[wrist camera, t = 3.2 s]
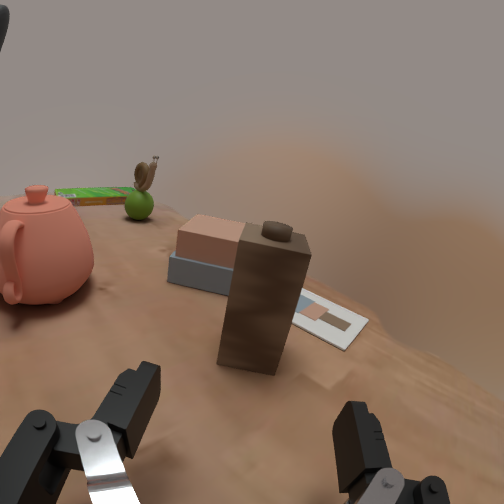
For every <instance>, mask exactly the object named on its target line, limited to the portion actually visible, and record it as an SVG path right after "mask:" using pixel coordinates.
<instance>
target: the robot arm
mask: <svg viewBox="0 0 504 504" xmlns="http://www.w3.org/2000/svg"><path fill="white" fill-rule="evenodd" d="M8 24H9V10H8V8H7V7H6V6H5V5H0V51H1V48H2V45H3V42H4V39H5V36H6V32H7V29H8ZM160 390H161V368H160V366H159V365H156V364H152V363H149V362H146V361H142V362H141V364H140V365H139V367H138V369H137V371H135V370H132V369H127V370H126V371H124V372H123V373H121V374H120V375H119V376H118V378H117V379H116V381H115V383H114V385H113V386H112V387H111V389H110V392H108V394H107V395H106V397H105V398H104V400H103V402H102V403H101V405H100V407H99V408H98V410H97V411H96V413H95V415H94V416H93V418H91V419H90V420H86V421H84V422H82V423H80V424H70V423H65V422H59V421H56V420H55V418H54V417H53V416H52V414H50V413H49V412H47V411H45V410H34V411H31V412H30V413H29V414H27V416H26V417H25V419H24V420H23V422H22V423H21V425H20V426H19V428H18V429H17V431H16V432H15V434H14V436H13V437H12V439H11V440H10V442H9V444H8V445H7V447H6V449H5V450H4V452H3V454H2V455H1V457H0V504H56V502H57V500H58V497H59V495H60V493H61V490H62V488H63V486H64V483H65V481H66V479H67V477H68V474H69V472H70V470H71V469H74V470H80V471H85V474H86V477H87V481H88V483H87V487H88V491H89V494H90V497H91V500H92V502H93V504H140V503H139V501H138V499H137V497H136V494H135V492H134V490H133V488H132V485H131V483H130V481H129V478H128V476H127V474H126V472H125V469H124V467H123V464H122V463H123V461H124V459H125V456H126V457H128V458H131V459H133V458H134V455H135V453H136V451H137V448H138V446H139V444H140V441H141V439H142V437H143V434H144V432H145V430H146V427H147V425H148V423H149V421H150V418H151V416H152V414H153V411H154V409H155V407H156V405H157V402H158V400H159V396H160ZM332 435H333V442H334V450H335V458H336V466H337V474H338V483H339V493H349V498H348V499H347V500H346V501H345V503H344V504H450V501H449V497H448V493H447V489H446V485H445V483H444V481H443V480H442V479H441V478H439V477H437V476H428V477H426V478H425V479H423V480H422V481H415V480H409V479H404V478H403V476H402V474H401V473H400V472H399V471H397V470H396V469H393V468H392V465H391V461H390V457H389V453H388V450H387V446H386V442H385V440H384V435H383V433H382V428H381V425H380V422H379V420H378V419H377V418H376V416H375V415H374V414H373V413H369V412H368V409H367V405H366V403H365V402H358V401H348V402H347V403H346V404H345V406H344V407H343V409H342V411H341V412H340V414H339V415H338V417H337V419H336V420H335V422H334V425H333V430H332Z"/></svg>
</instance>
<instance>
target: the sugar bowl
mask: <svg viewBox="0 0 504 504" xmlns="http://www.w3.org/2000/svg"><path fill="white" fill-rule="evenodd" d="M25 192H26V196H24V197H19V198H16V199H13V200H10V201H8V202H7V203H5V205H4V206H3V207H2V209H1V211H0V293H1V294H2V295H3V297H4V300H5V301H6V302H7V303H9V304H11V305H13V304H17V303H22V304H30V305H38V304H47V303H48V304H59V303H61V302H62V301H63V299H64V298H66V297H68V296H70V295H72V294H73V293H75V292H76V291H77V290H78V289H79V288H80V287H81V286H82V285H83V284H84V282H85V281H86V280H87V279H88V277H89V276H90V274H91V272H92V269H93V266H94V255H93V250H92V245H91V241H90V238H89V235H88V232H87V230H86V228H85V226H84V223H83V222H82V220H81V218H80V216H79V215H78V213H77V211H76V209H75V208H74V206H73V205H72V203H71V202H70V201H69V200H68V199H67V198H64V197H61V196H55V195H47V192H48V187H47V186H45V185H33V186H29V187H27V188H25Z"/></svg>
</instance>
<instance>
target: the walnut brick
mask: <svg viewBox="0 0 504 504" xmlns="http://www.w3.org/2000/svg"><path fill="white" fill-rule="evenodd" d="M292 230H293V228H292V227H290V226H288V225H286V224H283V223H279V222H273V221H265V222H264V223H263V226H261V225H256V224H251V223H246V224H245V227H244V229H243V231H242V234H241V236H240V238H239V242H238V247H237V253H236V258H235V263H234V269H233V274H232V280H231V285H230V291H229V296H228V302H227V307H226V313H225V318H224V324H223V330H222V335H221V341H220V347H219V352H218V358H217V364H219V365H223V366H228V367H232V368H237V369H242V370H247V371H253V372H258V373H263V374H269V375H275V372H276V369H277V367H278V364H279V361H280V358H281V355H282V352H283V348H284V345H285V342H286V339H287V336H288V333H289V330H290V327H291V323H292V320H293V317H294V314H295V310H296V307H297V304H298V301H299V297H300V294H301V290H302V287H303V284H304V280H305V277H306V273H307V269H308V266H309V262H310V259H311V252H310V249H309V246H308V243H307V240H306V237H305V235H303V234H298V233H294V232H292Z"/></svg>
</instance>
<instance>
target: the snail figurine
mask: <svg viewBox="0 0 504 504" xmlns="http://www.w3.org/2000/svg"><path fill="white" fill-rule="evenodd" d="M155 158H156V159H158V158H159V157H158V156H153V159H155ZM156 168H157V163H155V162H152V163H150V165H149V166H148V165H147V164H146V163H144V162H141V163H139V164H138V165H137V166H136V169H135V174H134V175H135V180H136V182H134V187H135V189H136V190H135V191H133V192H131V193H130V194H129V195H128V196H127V198H126V200H125V210H126V213H127V214H128V215H129V216H130V217H131V218H133V219H136V220H142V219H145V218H147V217H148V216H149V215H150V214H151V212H152V210H153V207H154V202H153V198H152V196H151V195H150V194H149V193H148V192H146V190H148V189H149V188H150V186H151V184H152V181H153V178H154V175H155V170H156Z"/></svg>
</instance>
